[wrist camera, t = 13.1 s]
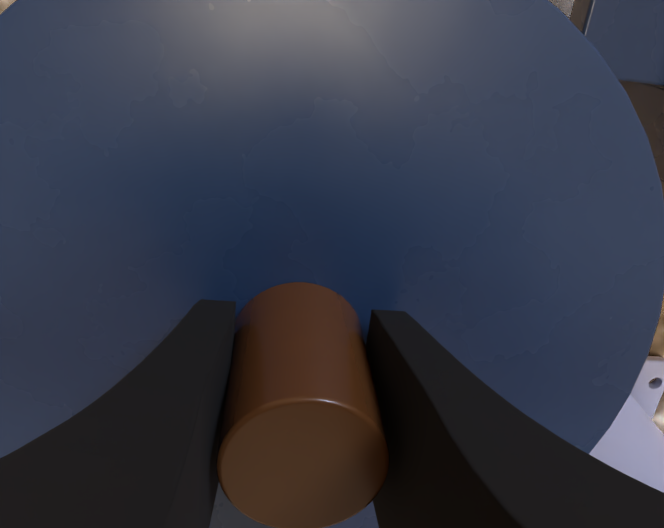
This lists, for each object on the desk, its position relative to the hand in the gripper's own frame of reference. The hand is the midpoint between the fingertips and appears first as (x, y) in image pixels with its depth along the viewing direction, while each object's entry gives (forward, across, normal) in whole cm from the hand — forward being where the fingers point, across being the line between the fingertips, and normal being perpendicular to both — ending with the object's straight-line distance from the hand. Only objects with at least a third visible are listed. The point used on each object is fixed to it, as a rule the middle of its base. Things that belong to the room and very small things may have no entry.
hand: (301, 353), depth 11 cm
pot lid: (+1, 0, 0) cm, 1 cm away
